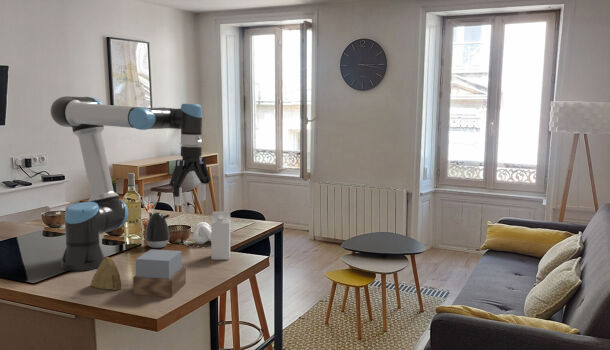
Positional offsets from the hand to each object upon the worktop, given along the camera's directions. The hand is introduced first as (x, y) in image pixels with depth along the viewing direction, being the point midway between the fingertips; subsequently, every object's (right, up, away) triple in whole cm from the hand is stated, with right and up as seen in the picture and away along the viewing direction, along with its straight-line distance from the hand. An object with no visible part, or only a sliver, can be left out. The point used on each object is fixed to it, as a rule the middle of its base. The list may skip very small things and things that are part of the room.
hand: (190, 202), depth 197 cm
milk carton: (+8, -24, +18) cm, 31 cm away
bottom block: (-6, -28, -20) cm, 35 cm away
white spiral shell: (-2, -20, +41) cm, 46 cm away
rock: (-24, -28, -20) cm, 42 cm away
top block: (-6, -22, -21) cm, 31 cm away
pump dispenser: (-21, -21, +32) cm, 44 cm away
